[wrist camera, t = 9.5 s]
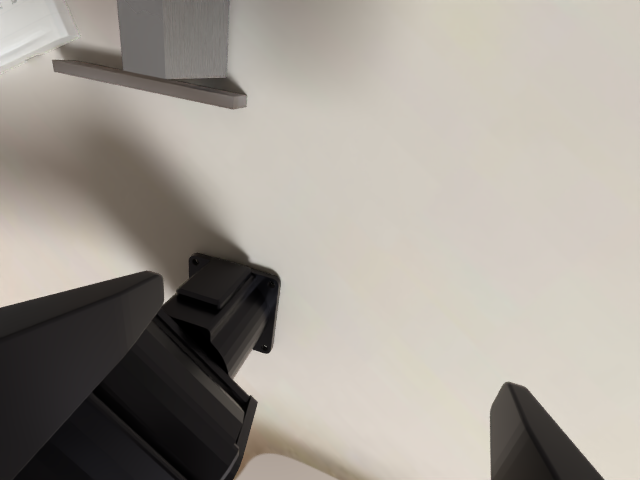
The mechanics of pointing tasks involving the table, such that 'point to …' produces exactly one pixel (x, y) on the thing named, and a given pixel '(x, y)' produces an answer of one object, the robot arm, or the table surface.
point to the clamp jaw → (174, 37)
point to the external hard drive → (33, 29)
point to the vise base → (151, 84)
